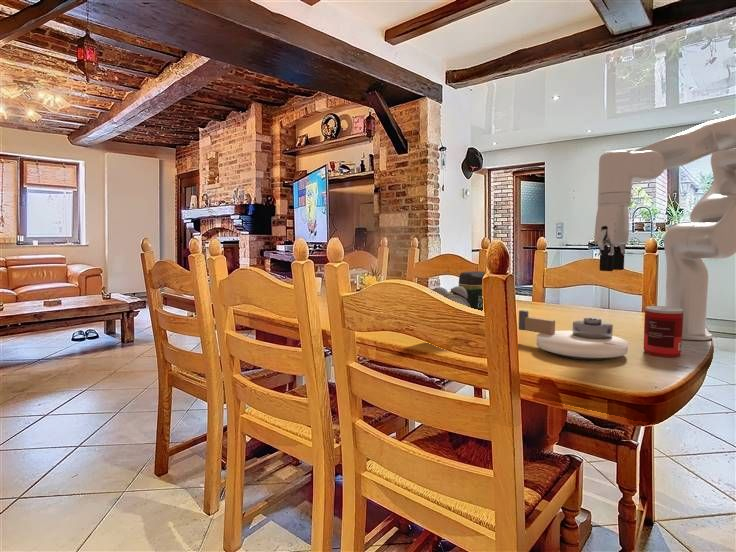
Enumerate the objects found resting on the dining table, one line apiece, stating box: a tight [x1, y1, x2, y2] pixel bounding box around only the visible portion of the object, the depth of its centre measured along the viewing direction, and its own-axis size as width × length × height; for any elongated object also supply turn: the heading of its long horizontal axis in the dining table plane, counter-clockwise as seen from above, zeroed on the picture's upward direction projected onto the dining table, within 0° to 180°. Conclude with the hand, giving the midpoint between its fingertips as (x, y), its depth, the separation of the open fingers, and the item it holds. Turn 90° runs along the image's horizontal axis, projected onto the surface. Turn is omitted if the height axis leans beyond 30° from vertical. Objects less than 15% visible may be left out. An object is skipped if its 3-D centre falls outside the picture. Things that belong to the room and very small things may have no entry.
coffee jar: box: [458, 270, 486, 311], centre depth 131 cm, size 10×8×19 cm
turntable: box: [518, 309, 629, 359], centre depth 112 cm, size 20×27×7 cm
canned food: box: [643, 305, 683, 358], centre depth 108 cm, size 8×8×11 cm
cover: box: [571, 317, 614, 339], centre depth 113 cm, size 9×9×4 cm
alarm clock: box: [432, 285, 470, 307], centre depth 124 cm, size 12×7×15 cm, turn 110°
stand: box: [550, 352, 613, 361], centre depth 110 cm, size 14×14×1 cm
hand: (611, 269), depth 118 cm, fingers open, 5 cm apart
